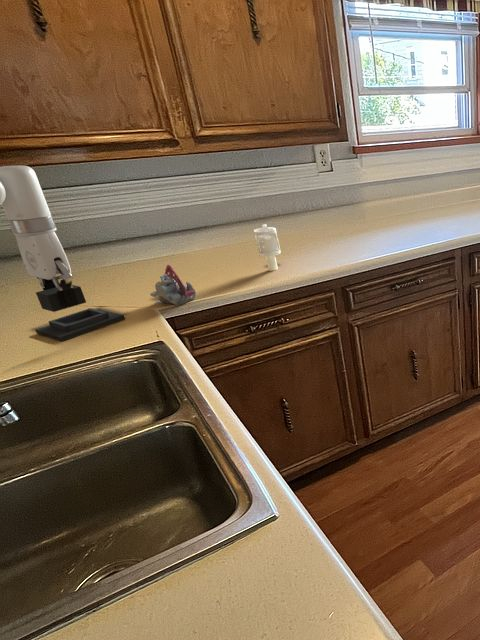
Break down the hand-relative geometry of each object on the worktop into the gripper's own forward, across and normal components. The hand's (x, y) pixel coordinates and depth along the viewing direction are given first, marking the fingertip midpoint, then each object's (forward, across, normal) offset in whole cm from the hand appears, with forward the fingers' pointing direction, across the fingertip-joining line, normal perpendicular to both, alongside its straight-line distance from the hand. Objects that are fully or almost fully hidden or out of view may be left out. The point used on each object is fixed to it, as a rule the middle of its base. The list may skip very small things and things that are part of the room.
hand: (63, 303), depth 121 cm
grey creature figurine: (+11, -7, +31) cm, 33 cm away
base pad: (+11, -14, +8) cm, 19 cm away
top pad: (+1, 0, 0) cm, 1 cm away
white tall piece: (+10, -5, +66) cm, 67 cm away
